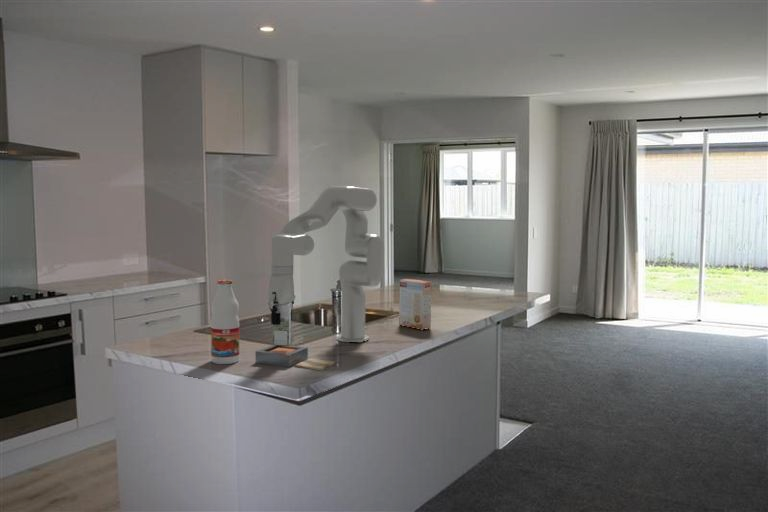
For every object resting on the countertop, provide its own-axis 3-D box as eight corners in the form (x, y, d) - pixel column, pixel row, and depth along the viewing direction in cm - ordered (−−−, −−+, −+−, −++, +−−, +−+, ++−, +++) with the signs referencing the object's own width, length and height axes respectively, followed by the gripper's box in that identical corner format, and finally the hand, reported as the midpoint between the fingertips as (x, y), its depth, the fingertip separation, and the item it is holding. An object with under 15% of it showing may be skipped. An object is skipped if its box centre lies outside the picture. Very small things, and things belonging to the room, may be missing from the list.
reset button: (278, 350, 232) (278, 347, 232) (296, 352, 229) (296, 349, 229) (267, 354, 225) (267, 351, 225) (285, 356, 223) (285, 354, 223)
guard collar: (275, 354, 236) (275, 343, 236) (307, 358, 231) (307, 347, 231) (255, 362, 224) (255, 351, 224) (288, 367, 219) (288, 355, 219)
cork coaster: (309, 359, 229) (309, 358, 229) (335, 363, 225) (335, 361, 225) (294, 366, 220) (295, 364, 220) (321, 370, 216) (321, 368, 216)
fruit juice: (239, 357, 231) (239, 278, 229) (239, 364, 222) (238, 281, 219) (212, 358, 229) (211, 278, 227) (210, 365, 220) (209, 282, 218)
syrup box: (291, 342, 230) (291, 301, 229) (289, 346, 224) (289, 304, 223) (274, 342, 230) (275, 301, 229) (272, 346, 224) (272, 303, 223)
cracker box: (431, 329, 286) (432, 281, 284) (421, 331, 281) (422, 282, 279) (407, 324, 296) (408, 278, 294) (398, 326, 291) (399, 279, 289)
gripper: (285, 268, 234) (285, 317, 236) (258, 272, 218) (258, 325, 220) (304, 269, 231) (303, 319, 233) (278, 274, 215) (277, 327, 217)
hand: (281, 321), depth 226 cm, fingers closed on syrup box, 7 cm apart
